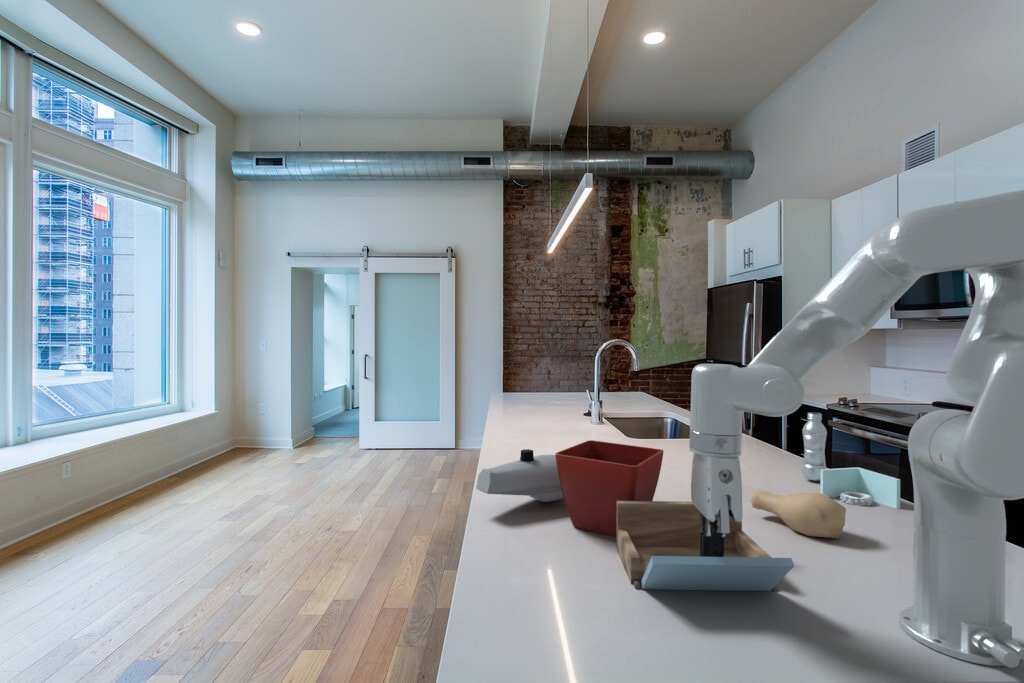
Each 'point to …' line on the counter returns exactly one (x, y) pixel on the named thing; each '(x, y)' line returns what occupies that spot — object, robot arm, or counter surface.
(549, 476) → the street light
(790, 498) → the squash
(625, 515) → the box
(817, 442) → the plastic bottle
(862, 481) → the l-shaped corner panel
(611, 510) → the plant pot
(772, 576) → the panel
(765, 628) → the counter surface
